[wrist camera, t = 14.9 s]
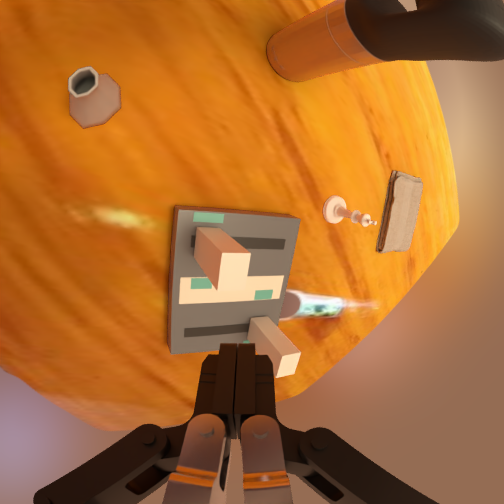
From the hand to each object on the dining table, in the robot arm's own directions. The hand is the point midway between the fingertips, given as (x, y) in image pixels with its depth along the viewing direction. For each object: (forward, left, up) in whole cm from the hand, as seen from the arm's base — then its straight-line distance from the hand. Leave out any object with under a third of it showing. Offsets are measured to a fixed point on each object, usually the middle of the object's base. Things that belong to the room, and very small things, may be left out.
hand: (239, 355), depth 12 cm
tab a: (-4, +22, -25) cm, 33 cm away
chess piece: (-26, +13, -28) cm, 40 cm away
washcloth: (-44, +22, -29) cm, 57 cm away
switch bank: (-4, +14, -28) cm, 31 cm away
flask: (+1, -18, -28) cm, 34 cm away
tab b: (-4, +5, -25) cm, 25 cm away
